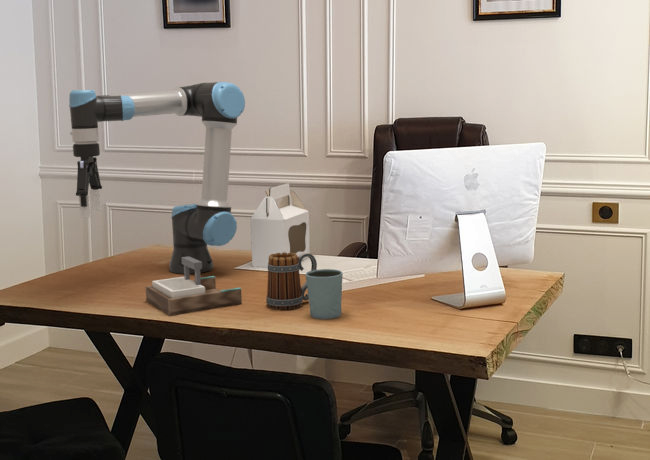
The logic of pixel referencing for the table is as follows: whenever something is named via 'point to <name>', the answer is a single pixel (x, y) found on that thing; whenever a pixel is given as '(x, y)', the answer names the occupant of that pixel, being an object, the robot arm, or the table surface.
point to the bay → (195, 299)
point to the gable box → (279, 226)
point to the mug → (286, 281)
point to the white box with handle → (182, 281)
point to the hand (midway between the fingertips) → (91, 214)
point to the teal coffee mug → (324, 293)
